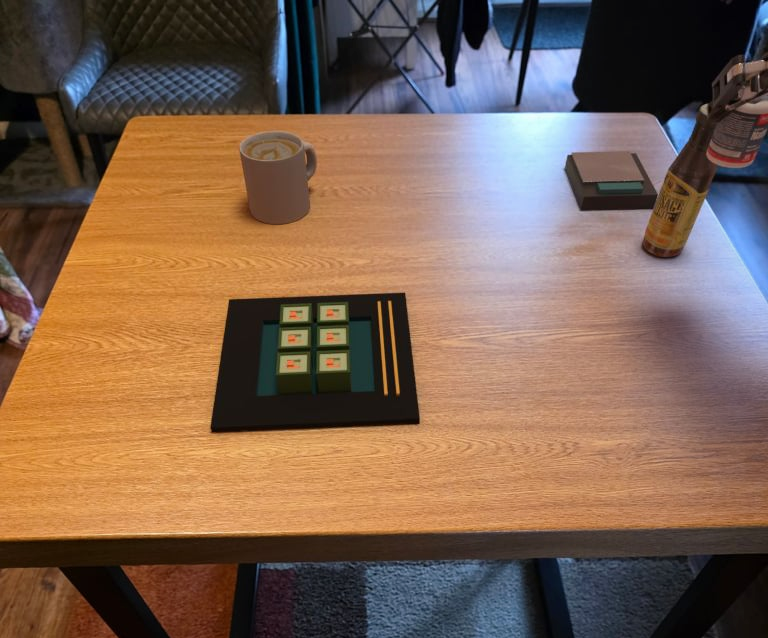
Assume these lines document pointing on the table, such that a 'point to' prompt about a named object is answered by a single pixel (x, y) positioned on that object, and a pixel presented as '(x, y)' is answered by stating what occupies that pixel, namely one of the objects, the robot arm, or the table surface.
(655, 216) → the sauce bottle
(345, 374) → the sushi
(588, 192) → the scale
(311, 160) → the coffee mug
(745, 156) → the pill bottle
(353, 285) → the table surface
